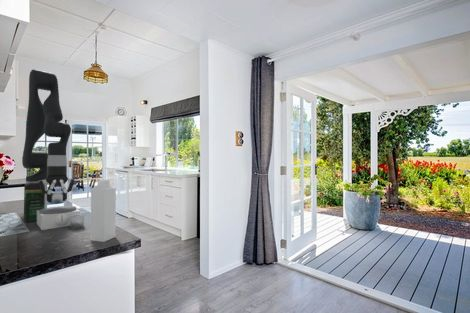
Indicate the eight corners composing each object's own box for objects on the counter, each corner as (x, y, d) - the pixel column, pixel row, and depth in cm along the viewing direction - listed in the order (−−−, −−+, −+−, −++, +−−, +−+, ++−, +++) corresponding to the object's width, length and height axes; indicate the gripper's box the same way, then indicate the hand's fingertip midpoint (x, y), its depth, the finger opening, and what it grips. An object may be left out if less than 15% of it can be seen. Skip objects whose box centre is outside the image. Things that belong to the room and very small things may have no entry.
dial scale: (36, 223, 118) (36, 208, 118) (72, 218, 128) (72, 204, 128) (41, 230, 107) (42, 213, 107) (80, 224, 117) (80, 209, 117)
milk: (90, 240, 95) (90, 180, 95) (102, 235, 101) (102, 179, 101) (104, 242, 94) (104, 181, 94) (116, 237, 100) (115, 179, 100)
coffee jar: (45, 221, 122) (45, 181, 122) (23, 223, 117) (24, 182, 117) (44, 217, 130) (44, 180, 130) (23, 219, 125) (24, 181, 125)
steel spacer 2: (69, 227, 113) (69, 215, 113) (82, 225, 117) (82, 213, 117) (72, 229, 109) (72, 217, 109) (85, 227, 113) (85, 215, 113)
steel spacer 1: (49, 202, 120) (49, 191, 120) (62, 201, 124) (62, 191, 124) (51, 204, 117) (51, 193, 117) (64, 203, 120) (64, 192, 120)
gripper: (73, 164, 128) (72, 199, 128) (36, 165, 118) (36, 202, 118) (76, 165, 123) (76, 201, 123) (39, 165, 113) (38, 204, 113)
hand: (56, 201), depth 120 cm, fingers closed on steel spacer 1, 5 cm apart
